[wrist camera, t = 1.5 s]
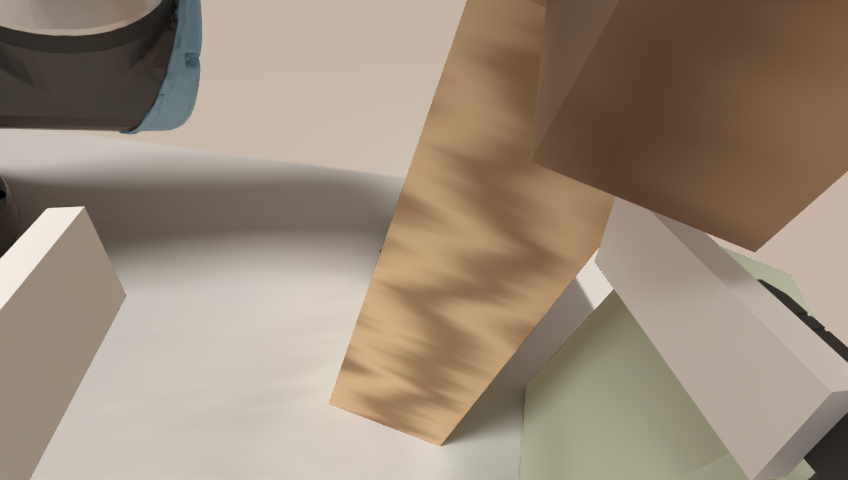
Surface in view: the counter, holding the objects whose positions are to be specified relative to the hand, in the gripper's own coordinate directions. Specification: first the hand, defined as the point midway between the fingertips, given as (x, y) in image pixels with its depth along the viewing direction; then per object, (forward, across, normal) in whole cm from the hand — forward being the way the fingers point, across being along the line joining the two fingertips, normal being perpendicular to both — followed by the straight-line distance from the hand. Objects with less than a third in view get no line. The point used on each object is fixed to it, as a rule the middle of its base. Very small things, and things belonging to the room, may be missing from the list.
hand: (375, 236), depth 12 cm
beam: (+7, +8, +4) cm, 12 cm away
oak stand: (+16, +3, -24) cm, 29 cm away
